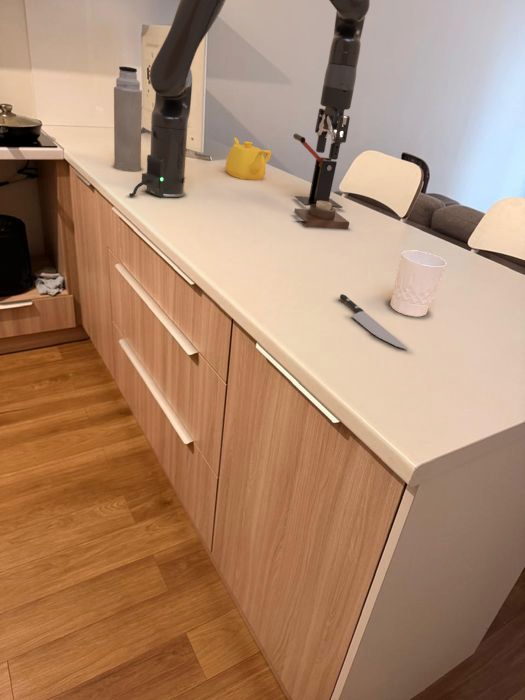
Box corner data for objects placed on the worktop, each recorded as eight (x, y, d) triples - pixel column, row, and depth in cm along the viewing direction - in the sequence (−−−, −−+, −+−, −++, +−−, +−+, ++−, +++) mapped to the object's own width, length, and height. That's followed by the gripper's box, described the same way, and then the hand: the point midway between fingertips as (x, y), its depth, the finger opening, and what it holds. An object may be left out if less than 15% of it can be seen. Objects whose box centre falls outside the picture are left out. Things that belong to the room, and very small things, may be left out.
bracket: (304, 208, 147) (313, 160, 140) (294, 199, 154) (302, 154, 147) (341, 210, 150) (351, 164, 144) (330, 202, 158) (339, 157, 151)
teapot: (283, 184, 170) (288, 150, 165) (241, 183, 163) (245, 147, 158) (253, 168, 186) (257, 137, 181) (215, 166, 179) (218, 134, 174)
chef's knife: (392, 354, 78) (408, 351, 79) (394, 348, 78) (409, 345, 79) (329, 299, 92) (342, 297, 94) (330, 294, 92) (343, 292, 93)
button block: (306, 227, 130) (309, 212, 128) (293, 215, 138) (296, 200, 136) (347, 229, 134) (351, 214, 132) (333, 217, 142) (336, 203, 140)
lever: (298, 141, 138) (304, 134, 137) (291, 137, 143) (296, 130, 142) (329, 174, 145) (335, 168, 145) (321, 169, 150) (327, 163, 149)
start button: (318, 211, 132) (320, 204, 131) (313, 206, 135) (314, 200, 135) (332, 211, 133) (334, 205, 133) (326, 207, 137) (328, 201, 136)
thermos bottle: (123, 163, 163) (123, 65, 149) (145, 168, 162) (147, 69, 148) (109, 167, 157) (107, 64, 143) (132, 172, 155) (132, 68, 141)
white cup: (381, 297, 97) (396, 247, 92) (420, 301, 98) (436, 252, 93) (394, 316, 90) (410, 263, 85) (435, 320, 91) (454, 268, 86)
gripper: (313, 81, 128) (303, 149, 136) (336, 87, 117) (323, 160, 125) (340, 85, 130) (328, 151, 139) (365, 90, 119) (350, 162, 127)
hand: (326, 155), depth 132 cm, fingers open, 8 cm apart
